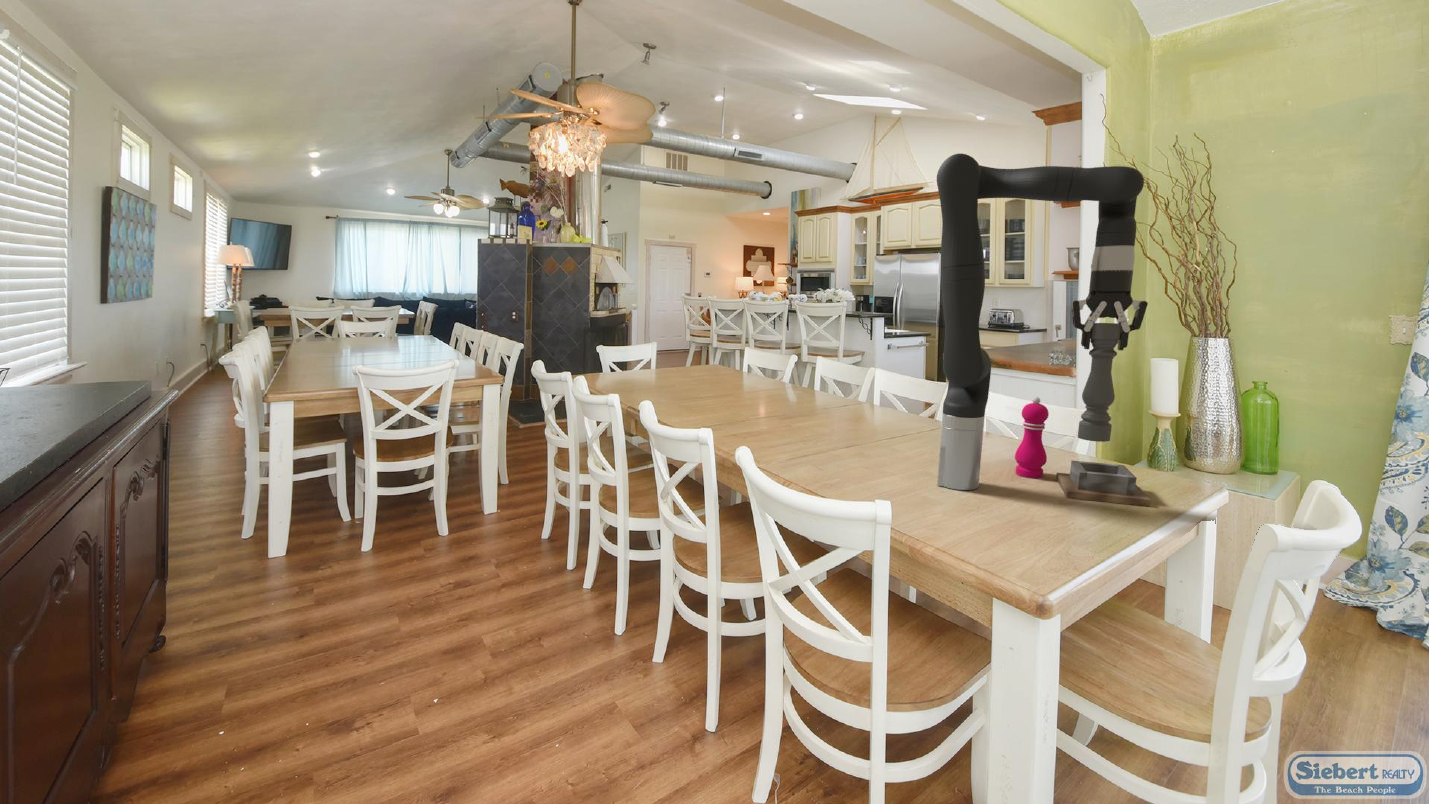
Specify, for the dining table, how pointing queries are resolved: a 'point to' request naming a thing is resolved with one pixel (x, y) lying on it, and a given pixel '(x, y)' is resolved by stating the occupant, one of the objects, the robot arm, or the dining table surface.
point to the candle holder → (1099, 383)
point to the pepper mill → (1032, 441)
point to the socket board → (1101, 483)
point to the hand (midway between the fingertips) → (1103, 349)
